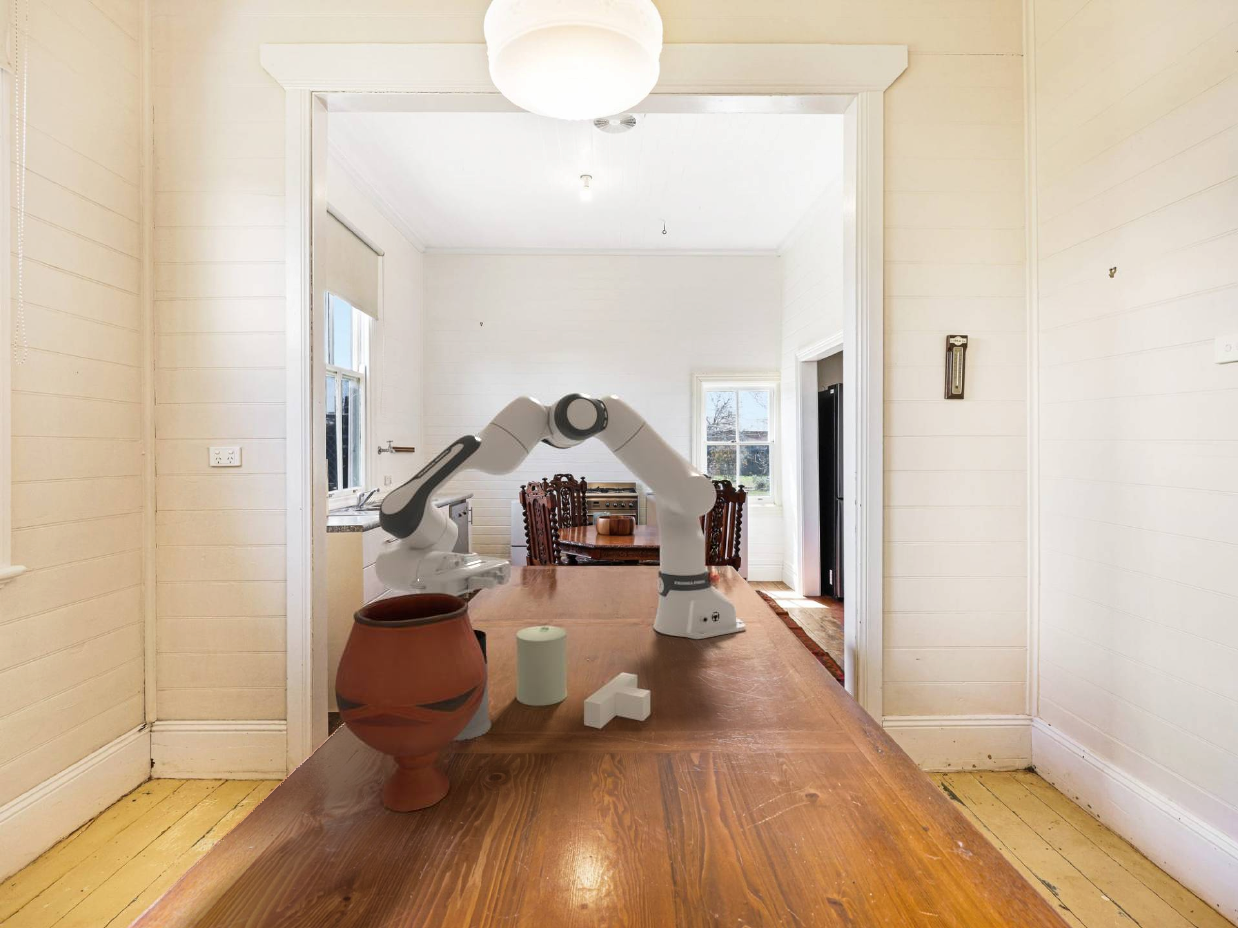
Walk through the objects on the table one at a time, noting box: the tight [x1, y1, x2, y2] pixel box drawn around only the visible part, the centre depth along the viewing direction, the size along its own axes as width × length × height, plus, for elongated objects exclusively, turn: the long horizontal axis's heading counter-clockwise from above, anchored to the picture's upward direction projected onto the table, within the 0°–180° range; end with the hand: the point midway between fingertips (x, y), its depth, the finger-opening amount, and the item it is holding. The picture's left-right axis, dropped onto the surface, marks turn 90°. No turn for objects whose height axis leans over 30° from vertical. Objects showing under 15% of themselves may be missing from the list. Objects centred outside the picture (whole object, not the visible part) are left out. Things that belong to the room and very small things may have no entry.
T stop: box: [583, 671, 651, 729], centre depth 107 cm, size 8×14×4 cm, turn 153°
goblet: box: [334, 592, 487, 813], centre depth 83 cm, size 19×19×25 cm
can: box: [515, 625, 568, 707], centre depth 115 cm, size 9×9×12 cm
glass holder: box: [452, 628, 492, 741], centre depth 99 cm, size 9×14×15 cm, turn 164°
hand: (500, 581), depth 118 cm, fingers open, 2 cm apart
